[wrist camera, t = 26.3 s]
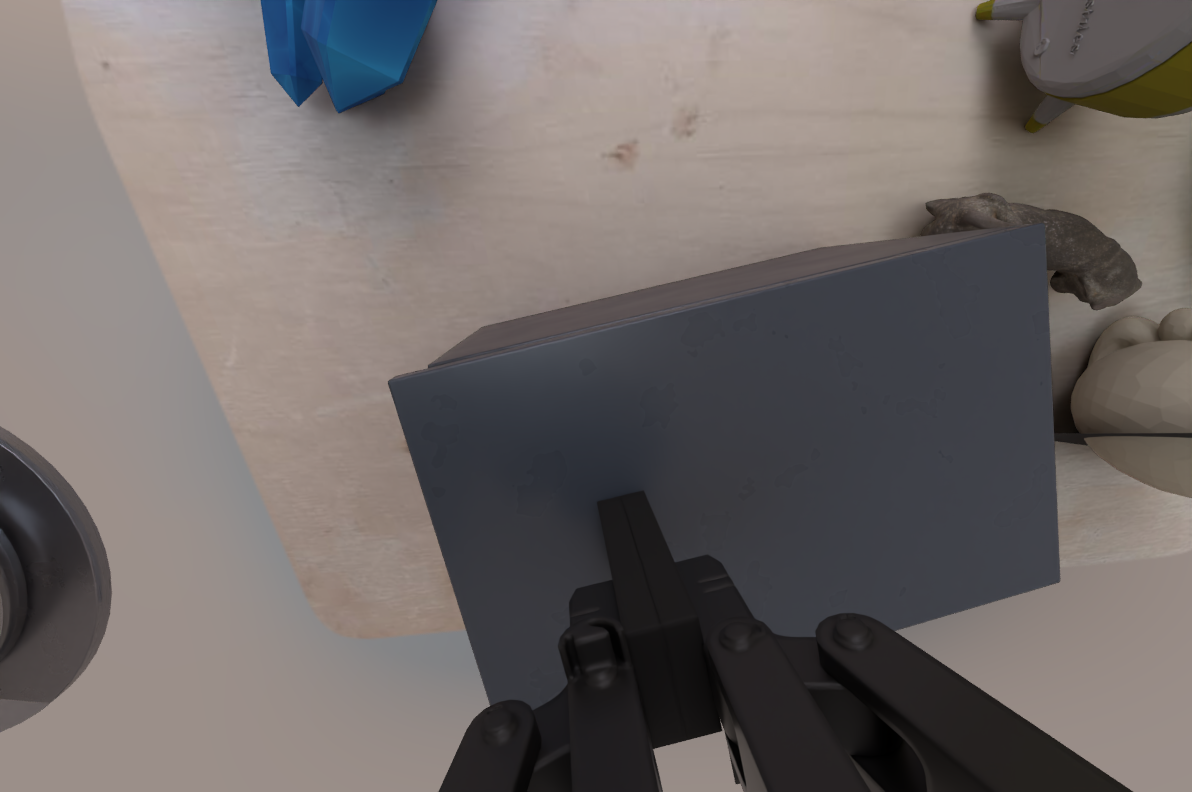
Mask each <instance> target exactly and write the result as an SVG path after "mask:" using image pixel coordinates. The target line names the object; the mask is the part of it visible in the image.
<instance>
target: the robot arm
mask: <svg viewBox="0 0 1192 792" xmlns="http://www.w3.org/2000/svg"><path fill="white" fill-rule="evenodd" d="M597 505H598V510H599V515H600V520H601V525H602V530H603V535H604V540H605V545H606V550H607V555H608V560H609V565H610V570H611V575H612V580H609V581H605V582H601V583H597V584H593V585H589V586H585V587H581V588H577V589H576V590H575V592H574V593H573V595H572V597H571V599H570V601H569V615H570V627H569V628H567V629H566V630H565V631H564V633H563V634H562V635H561V636H560V639H559V643H558V649H559V653H560V656H561V660H562V663H563V667H564V671H565V674H566V678H567V681H568V684H567V685H566V687H565V688H564V689H563V690H562V691H561V692H560V693H559V694H558V695H557V696H556V697H555V698H553V699H552V700H550V701H548V702H547V703H545V704H543V705H541V706H540V707H538V708H536V709H534V710H532V708H531V706H530V705H528V704H527V703H525V702H523V701H521V700H511V699H510V700H506V701H501V702H497V703H495V704H493V705H492V706H490V707H488V708H486V709H484V710H483V711H482V712H481V713H480V714H479V715H478V716H476V717H475V718H474V719H473V721H472V722H471V724H470V725H469V727H468V729H467V730H466V732H465V735H464V737H463V739H462V741H461V744H460V746H459V748H458V750H457V752H456V755H455V757H454V759H453V761H452V763H451V766H450V768H449V770H448V772H447V775H446V777H445V779H444V781H443V783H442V786H441V788H440V790H439V792H663V790H662V786H661V781H660V776H659V772H658V768H657V764H656V759H655V755H654V751H653V749H655V748H658V747H662V746H666V745H670V744H674V743H678V742H682V741H686V740H690V739H693V738H697V737H701V736H705V735H709V734H713V733H716V732H720V731H722V727H721V723H722V725H723V728H724V730H725V735H726V740H727V744H728V749H729V754H730V759H731V764H732V769H733V773H734V778H735V783H736V784H739V783H741V786H742V789H743V791H744V792H1133V791H1131V790H1130V789H1128V788H1127V787H1125V786H1124V785H1122V784H1121V783H1119V782H1118V781H1116V780H1115V779H1113V778H1112V777H1110V776H1109V775H1107V774H1106V773H1104V772H1103V771H1101V770H1100V769H1099V768H1097V767H1096V766H1094V765H1093V764H1091V763H1090V762H1088V761H1086V760H1085V759H1084V758H1082V757H1081V756H1079V755H1077V754H1076V753H1075V752H1073V751H1072V750H1070V749H1069V748H1067V747H1066V746H1064V745H1063V744H1061V743H1060V742H1058V741H1057V740H1055V739H1054V738H1052V737H1051V736H1050V735H1048V734H1047V733H1045V732H1044V731H1042V730H1040V729H1039V728H1038V727H1036V726H1035V725H1033V724H1032V723H1030V722H1029V721H1027V720H1026V719H1024V718H1023V717H1021V716H1020V715H1018V714H1017V713H1015V712H1014V711H1012V710H1011V709H1009V708H1008V707H1006V706H1005V705H1003V704H1002V703H1000V702H999V701H997V700H996V699H995V698H993V697H991V696H990V695H989V694H987V693H986V692H984V691H983V690H981V689H980V688H978V687H977V686H975V685H973V684H972V683H970V682H969V681H968V680H966V679H965V678H963V677H962V676H960V675H959V674H957V673H956V672H954V671H953V670H951V669H950V668H948V667H947V666H945V665H944V664H942V663H941V662H939V661H938V660H936V659H935V658H933V657H932V656H931V655H929V654H928V653H926V652H925V651H923V650H922V649H920V648H919V647H917V646H916V645H914V644H912V643H911V642H910V641H908V640H907V639H905V638H904V637H902V636H901V635H899V634H898V633H896V632H895V631H893V630H892V629H890V628H889V627H887V626H886V625H884V624H883V623H882V622H880V621H878V620H876V619H874V618H872V617H869V616H866V615H861V614H856V613H840V614H836V615H833V616H829V617H827V618H826V619H824V620H823V621H821V622H820V623H819V624H818V626H817V628H816V630H815V633H816V637H786V636H782V635H777V634H774V633H773V632H772V631H771V629H770V628H769V627H768V626H767V625H766V624H765V623H764V622H762V621H759V620H757V619H755V618H754V616H753V615H752V613H751V611H750V610H749V608H748V606H747V605H746V603H745V601H744V600H743V598H742V596H741V595H740V593H739V591H738V590H737V588H736V586H734V583H733V581H732V579H731V578H730V576H729V575H728V573H727V571H726V569H725V568H724V566H723V564H722V563H721V562H720V561H718V560H716V559H715V558H713V557H711V556H710V555H708V554H707V555H703V556H699V557H695V558H691V559H687V560H683V561H679V562H675V561H674V559H673V557H672V554H671V552H670V550H669V548H668V545H667V543H666V541H665V538H664V536H663V534H662V531H661V529H660V527H659V524H658V522H657V520H656V518H655V515H654V513H653V511H652V508H651V506H650V504H649V501H648V499H647V497H646V494H645V492H644V490H643V491H639V492H635V493H631V494H626V495H622V496H618V497H614V498H610V499H606V500H602V501H598V502H597ZM27 601H28V595H27V585H26V580H25V575H24V572H23V568H22V565H21V562H20V560H19V558H18V556H17V553H16V551H15V549H14V548H13V546H12V544H11V542H10V541H9V539H8V538H7V536H6V535H5V533H4V532H3V530H2V529H1V528H0V662H1V661H2V660H3V659H4V658H5V657H6V656H7V654H8V653H9V652H10V651H11V649H12V648H13V646H14V645H15V643H16V641H17V640H18V638H19V636H20V633H21V631H22V629H23V625H24V622H25V619H26V612H27ZM719 717H720V718H719ZM720 720H721V723H720Z"/></svg>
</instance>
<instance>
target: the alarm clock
mask: <svg viewBox="0 0 1192 792" xmlns="http://www.w3.org/2000/svg"><path fill="white" fill-rule="evenodd" d="M976 18H977V19H979V20H1023V23H1022V31H1021V38H1020V52H1021V62H1022V65H1023V67H1024V70H1025V72H1026V74H1027V77H1028V79H1029V81H1030V82H1031V83H1032V84H1033V85H1035V86H1036V87H1037V88H1038V89H1039V90H1041V91H1043V92H1044V93H1045V94H1047V95H1046V97H1045V98H1044V100H1043V101H1042V102H1041V104H1040V105H1039V106H1038V108H1037V109H1036V111H1035V112H1034V113H1033V115H1032V116H1031V118H1030V119H1029V121H1028V122H1027V124H1026V125H1025V129H1026V130H1027V131H1029V132H1030V133H1034V132H1037V131H1038V130H1040V129H1041V128H1043V127H1044V126H1045V125H1047V124H1048V123H1049V122H1050V121H1052V120H1053V119H1055V118H1056V117H1057V116H1059V115H1060V114H1062V113H1063V112H1065V111H1066V110H1067V109H1069V108H1070V107H1072V106H1073V105H1075V104H1077V105H1081V106H1085V107H1088V108H1092V109H1096V110H1099V111H1103V112H1107V113H1110V114H1114V115H1118V116H1122V117H1130V118H1161V117H1167V116H1173V115H1179V114H1184V113H1187V112H1190V111H1192V0H990V1H987V2H984V3H982V4H980V5H979V6H978V7H977V12H976Z"/></svg>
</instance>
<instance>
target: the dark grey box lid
mask: <svg viewBox="0 0 1192 792" xmlns="http://www.w3.org/2000/svg"><path fill="white" fill-rule="evenodd" d="M388 385H389V388H390V391H391V394H392V397H393V401H394V404H395V407H396V410H397V413H398V416H399V420H400V423H401V426H402V429H403V432H404V435H405V438H406V442H407V445H408V448H409V451H410V454H411V457H412V461H413V464H414V467H415V470H416V473H417V476H418V479H419V483H420V486H421V489H422V492H423V495H424V498H425V502H426V505H427V508H428V511H429V514H430V517H431V520H432V524H433V527H434V530H435V533H436V536H437V539H438V543H439V546H440V549H441V552H442V555H443V558H444V561H445V565H446V568H447V571H448V574H449V577H450V580H451V584H452V587H453V590H454V593H455V596H456V599H457V602H458V606H459V609H460V612H461V615H462V618H463V621H464V624H465V628H466V631H467V634H468V637H469V640H470V643H471V647H472V650H473V653H474V656H475V659H476V662H477V665H478V669H479V672H480V675H481V678H482V681H483V684H484V688H485V691H486V694H487V697H488V700H489V703H490V706H492V705H493V704H495V703H497V702H501V701H506V700H510V699H511V700H521V701H523V702H525V703H527V704H528V705H530V706H531V708H532V710H534V709H536V708H538V707H540V706H541V705H543V704H545V703H547V702H548V701H550V700H552V699H553V698H555V697H556V696H557V695H558V694H559V693H560V692H561V691H562V690H563V689H564V688H565V687H566V685H567V684H568V681H567V678H566V674H565V671H564V667H563V663H562V660H561V656H560V653H559V649H558V643H559V639H560V636H561V635H562V634H563V633H564V631H565V630H566V629H567V628H569V627H570V615H569V601H570V599H571V597H572V595H573V593H574V592H575V590H576V589H577V588H581V587H585V586H589V585H593V584H597V583H601V582H605V581H609V580H612V575H611V570H610V565H609V560H608V555H607V550H606V545H605V540H604V535H603V530H602V525H601V520H600V515H599V510H598V505H597V502H598V501H602V500H606V499H610V498H614V497H618V496H622V495H626V494H631V493H635V492H639V491H643V490H644V492H645V494H646V497H647V499H648V501H649V504H650V506H651V508H652V511H653V513H654V515H655V518H656V520H657V522H658V524H659V527H660V529H661V531H662V534H663V536H664V538H665V541H666V543H667V545H668V548H669V550H670V552H671V554H672V557H673V559H674V561H675V562H679V561H683V560H687V559H691V558H695V557H699V556H703V555H707V554H708V555H710V556H711V557H713V558H715V559H716V560H718V561H720V562H721V563H722V564H723V566H724V568H725V569H726V571H727V573H728V575H729V576H730V578H731V579H732V581H733V583H734V586H736V588H737V590H738V591H739V593H740V595H741V596H742V598H743V600H744V601H745V603H746V605H747V606H748V608H749V610H750V611H751V613H752V615H753V616H754V618H755V619H757V620H759V621H762V622H764V623H765V624H766V625H767V626H768V627H769V628H770V629H771V631H772V632H773V633H774V634H777V635H782V636H786V637H816V633H815V630H816V628H817V626H818V624H819V623H820V622H821V621H823V620H824V619H826V618H827V617H829V616H833V615H836V614H840V613H856V614H861V615H866V616H869V617H872V618H874V619H876V620H878V621H880V622H882V623H883V624H884V625H886V626H887V627H889V628H890V629H892V630H893V631H896V630H899V629H903V628H907V627H910V626H913V625H917V624H920V623H924V622H927V621H930V620H934V619H937V618H941V617H944V616H947V615H951V614H954V613H957V612H961V611H964V610H968V609H971V608H974V607H978V606H981V605H985V604H988V603H991V602H994V601H998V600H1001V599H1005V598H1008V597H1012V596H1015V595H1018V594H1022V593H1025V592H1029V591H1032V590H1035V589H1039V588H1042V587H1046V586H1049V585H1052V584H1056V583H1059V582H1060V560H1059V537H1058V514H1057V491H1056V467H1055V444H1054V421H1053V398H1052V375H1051V352H1050V328H1049V305H1048V282H1047V259H1046V236H1045V224H1044V223H1035V224H1026V225H1021V226H1017V227H1013V228H1008V229H1004V230H1000V231H996V232H992V233H988V234H983V235H979V236H975V237H971V238H967V239H963V240H959V241H954V242H950V243H946V244H942V245H938V246H934V247H930V248H925V249H921V250H917V251H913V252H909V253H905V254H900V255H896V256H892V257H888V258H884V259H880V260H876V261H871V262H867V263H863V264H859V265H855V266H851V267H846V268H842V269H838V270H834V271H830V272H826V273H822V274H817V275H813V276H809V277H805V278H801V279H797V280H792V281H788V282H784V283H780V284H776V285H772V286H768V287H763V288H759V289H755V290H751V291H747V292H743V293H739V294H734V295H730V296H726V297H722V298H718V299H714V300H709V301H705V302H701V303H697V304H693V305H689V306H685V307H680V308H676V309H672V310H668V311H664V312H660V313H655V314H651V315H647V316H643V317H639V318H635V319H631V320H626V321H622V322H618V323H614V324H610V325H606V326H601V327H597V328H593V329H589V330H585V331H581V332H577V333H572V334H568V335H564V336H560V337H556V338H552V339H548V340H543V341H539V342H535V343H531V344H527V345H523V346H518V347H514V348H510V349H506V350H502V351H498V352H494V353H489V354H485V355H481V356H477V357H473V358H469V359H464V360H460V361H456V362H452V363H448V364H444V365H440V366H435V367H431V368H427V369H423V370H419V371H415V372H411V373H406V374H402V375H398V376H395V377H393V378H392V379H391V380H389V381H388Z"/></svg>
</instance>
